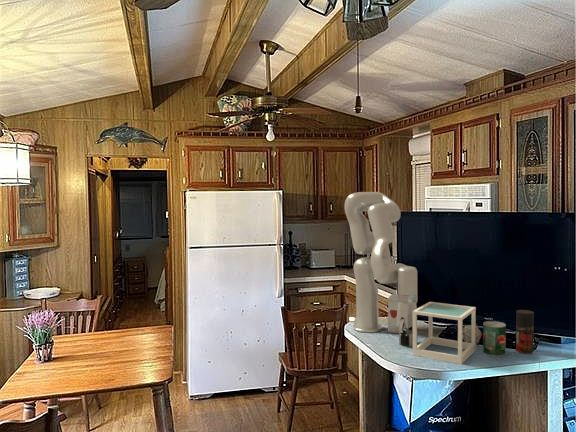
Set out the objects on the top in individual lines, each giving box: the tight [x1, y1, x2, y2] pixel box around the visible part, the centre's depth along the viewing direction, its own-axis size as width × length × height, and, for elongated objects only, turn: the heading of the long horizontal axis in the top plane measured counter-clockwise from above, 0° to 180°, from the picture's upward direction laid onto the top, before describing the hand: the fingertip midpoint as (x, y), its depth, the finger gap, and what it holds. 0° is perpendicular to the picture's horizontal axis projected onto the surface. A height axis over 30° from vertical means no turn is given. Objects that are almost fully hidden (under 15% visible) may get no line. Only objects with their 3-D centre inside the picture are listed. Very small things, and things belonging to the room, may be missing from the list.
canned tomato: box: [482, 320, 507, 357], centre depth 190 cm, size 8×8×11 cm
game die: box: [462, 323, 483, 346], centre depth 201 cm, size 9×8×10 cm
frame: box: [412, 301, 477, 365], centre depth 191 cm, size 18×18×16 cm
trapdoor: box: [421, 304, 467, 317], centre depth 191 cm, size 14×14×1 cm
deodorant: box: [515, 309, 535, 355], centre depth 191 cm, size 6×6×15 cm
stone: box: [398, 329, 413, 348], centre depth 202 cm, size 5×5×5 cm
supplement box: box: [387, 293, 406, 334], centre depth 221 cm, size 9×9×15 cm
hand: (407, 343), depth 202 cm, fingers closed on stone, 5 cm apart
